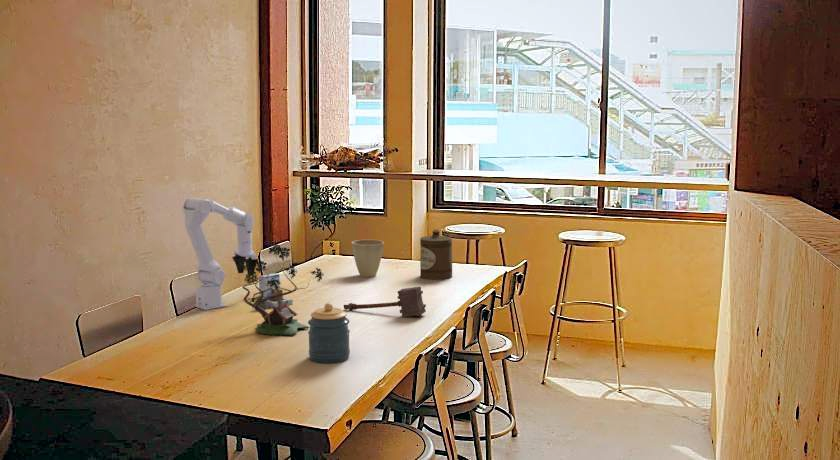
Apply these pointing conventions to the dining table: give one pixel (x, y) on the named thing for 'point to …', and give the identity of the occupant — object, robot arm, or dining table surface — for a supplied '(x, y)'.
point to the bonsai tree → (282, 315)
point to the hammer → (400, 303)
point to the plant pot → (367, 256)
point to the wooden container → (436, 256)
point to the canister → (328, 335)
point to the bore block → (272, 303)
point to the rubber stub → (263, 305)
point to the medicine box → (264, 282)
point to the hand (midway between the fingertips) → (245, 274)
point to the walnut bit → (276, 294)
